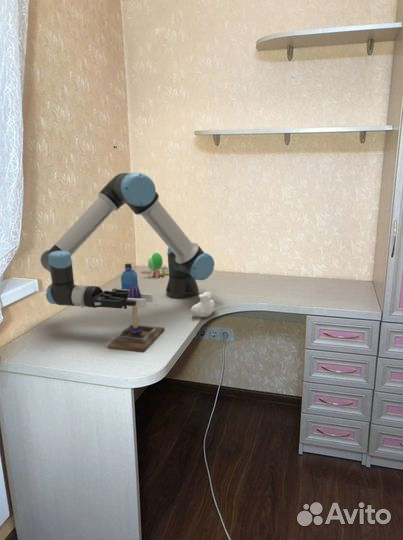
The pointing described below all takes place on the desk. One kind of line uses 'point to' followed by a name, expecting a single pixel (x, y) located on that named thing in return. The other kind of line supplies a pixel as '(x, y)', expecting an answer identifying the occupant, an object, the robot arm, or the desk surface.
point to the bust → (203, 306)
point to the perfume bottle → (129, 277)
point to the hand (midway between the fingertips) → (148, 300)
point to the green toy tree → (157, 265)
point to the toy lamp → (134, 309)
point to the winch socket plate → (136, 338)
